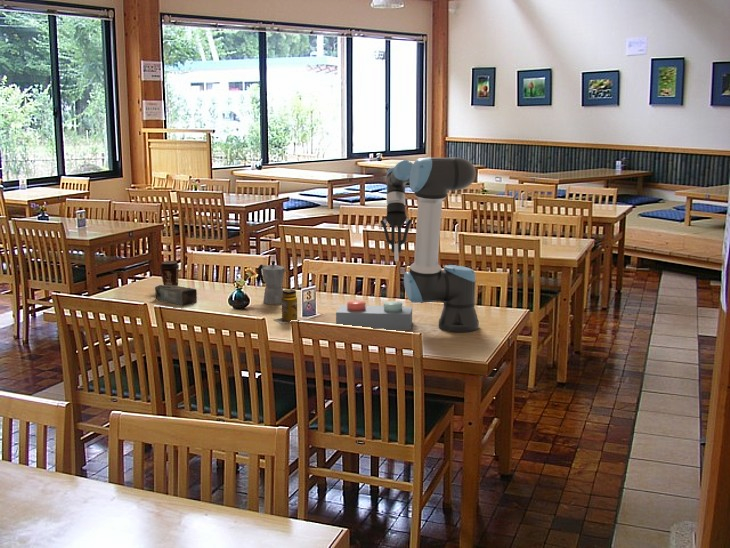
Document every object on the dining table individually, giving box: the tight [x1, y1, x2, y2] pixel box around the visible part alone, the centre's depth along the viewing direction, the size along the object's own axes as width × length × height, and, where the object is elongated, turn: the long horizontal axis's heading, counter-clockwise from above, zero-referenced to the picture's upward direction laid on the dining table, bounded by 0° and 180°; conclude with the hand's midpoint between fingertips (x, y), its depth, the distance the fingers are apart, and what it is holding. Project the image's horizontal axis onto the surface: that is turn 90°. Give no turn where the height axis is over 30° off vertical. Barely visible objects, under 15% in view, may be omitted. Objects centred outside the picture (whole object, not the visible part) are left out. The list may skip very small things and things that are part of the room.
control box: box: [335, 304, 413, 331], centre depth 313 cm, size 28×12×6 cm, turn 84°
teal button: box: [383, 301, 403, 312], centre depth 311 cm, size 7×7×8 cm
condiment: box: [273, 288, 300, 324], centre depth 319 cm, size 7×8×12 cm
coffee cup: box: [159, 260, 180, 286], centre depth 372 cm, size 9×8×13 cm
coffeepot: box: [257, 260, 286, 306], centre depth 349 cm, size 15×9×18 cm, turn 54°
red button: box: [346, 300, 367, 311], centre depth 313 cm, size 7×7×8 cm
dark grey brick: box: [154, 284, 198, 306], centre depth 352 cm, size 8×19×7 cm, turn 51°
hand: (396, 260), depth 326 cm, fingers closed
